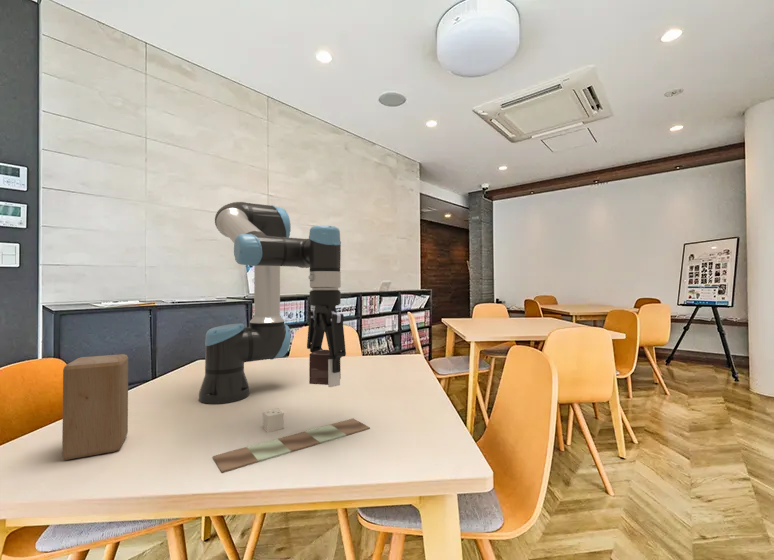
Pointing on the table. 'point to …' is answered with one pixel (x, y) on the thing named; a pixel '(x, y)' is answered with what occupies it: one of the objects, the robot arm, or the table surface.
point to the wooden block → (94, 405)
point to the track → (286, 444)
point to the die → (273, 420)
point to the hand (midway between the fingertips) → (325, 381)
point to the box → (319, 367)
